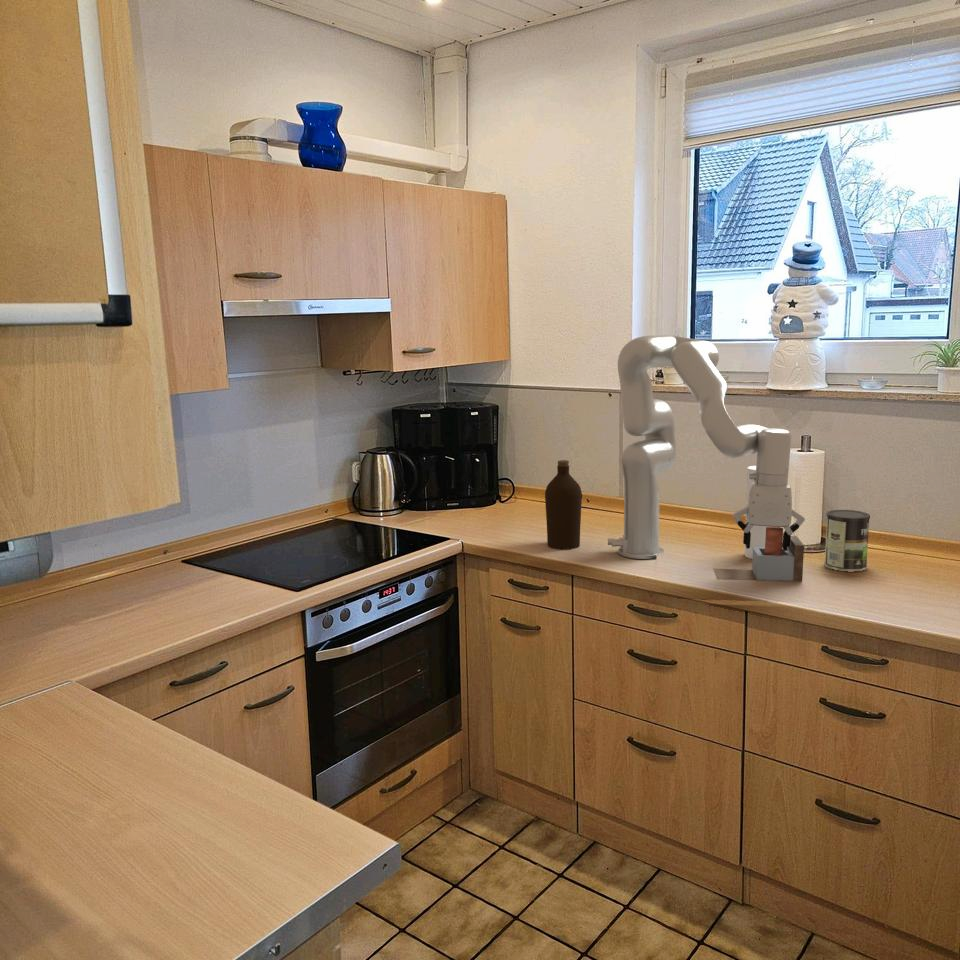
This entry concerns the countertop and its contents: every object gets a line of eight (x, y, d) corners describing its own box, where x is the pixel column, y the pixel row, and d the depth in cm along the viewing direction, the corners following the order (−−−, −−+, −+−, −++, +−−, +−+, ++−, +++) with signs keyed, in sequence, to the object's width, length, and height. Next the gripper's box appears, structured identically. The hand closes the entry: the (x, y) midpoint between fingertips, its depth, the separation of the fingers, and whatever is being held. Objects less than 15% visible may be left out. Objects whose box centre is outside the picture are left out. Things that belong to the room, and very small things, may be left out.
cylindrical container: (773, 563, 225) (777, 470, 220) (745, 562, 226) (749, 470, 222) (770, 556, 232) (774, 465, 227) (743, 555, 233) (746, 465, 229)
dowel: (764, 577, 210) (767, 529, 207) (762, 572, 214) (764, 526, 211) (781, 577, 209) (784, 530, 207) (778, 573, 213) (781, 526, 211)
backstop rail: (717, 583, 209) (718, 543, 208) (713, 572, 218) (714, 534, 216) (802, 585, 206) (804, 545, 204) (794, 574, 215) (796, 536, 213)
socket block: (757, 579, 208) (758, 556, 207) (752, 569, 216) (752, 547, 215) (793, 580, 206) (794, 557, 205) (787, 570, 215) (788, 547, 214)
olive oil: (563, 552, 240) (563, 465, 236) (537, 545, 248) (536, 461, 244) (589, 545, 247) (589, 460, 242) (563, 539, 255) (563, 456, 250)
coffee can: (869, 564, 222) (872, 511, 220) (863, 574, 214) (866, 519, 211) (827, 559, 228) (830, 507, 225) (820, 569, 219) (823, 515, 216)
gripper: (735, 481, 205) (731, 550, 208) (811, 484, 202) (805, 554, 205) (732, 474, 212) (728, 542, 216) (806, 477, 209) (800, 546, 212)
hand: (766, 547), depth 210 cm, fingers open, 8 cm apart
